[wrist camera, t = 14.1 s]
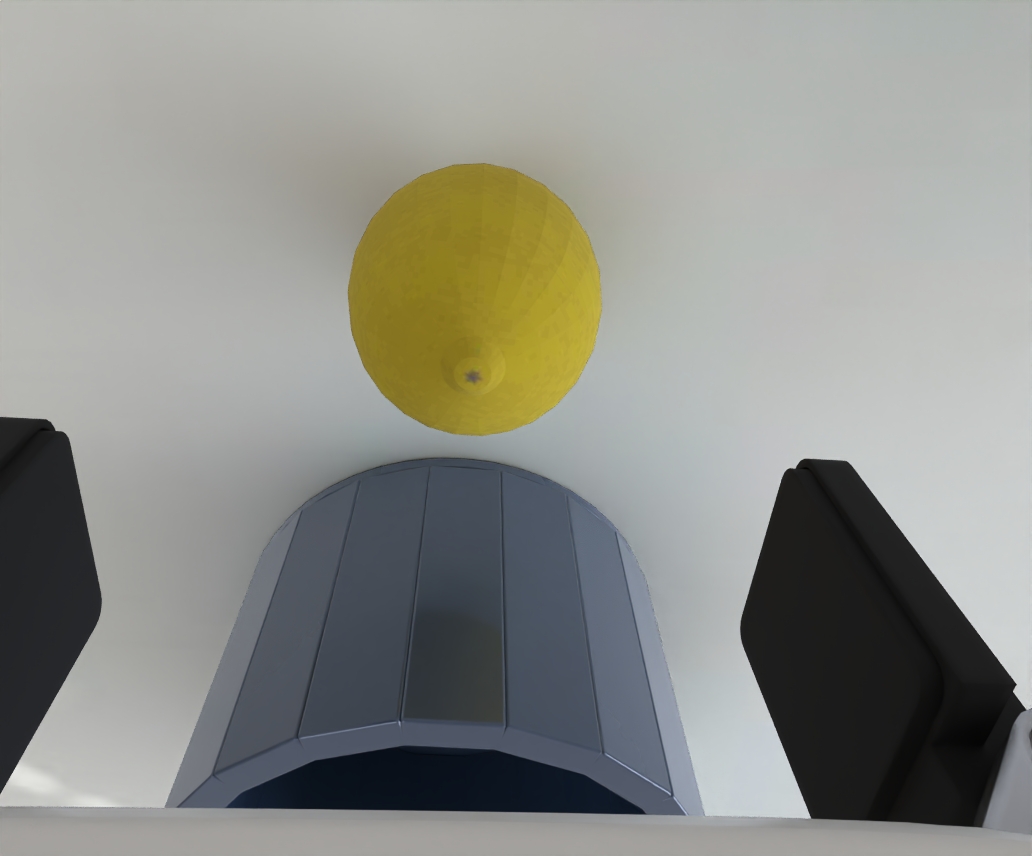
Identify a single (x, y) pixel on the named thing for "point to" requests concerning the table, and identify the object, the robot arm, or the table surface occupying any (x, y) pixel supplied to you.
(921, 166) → the table surface
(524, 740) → the crock
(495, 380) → the lemon
